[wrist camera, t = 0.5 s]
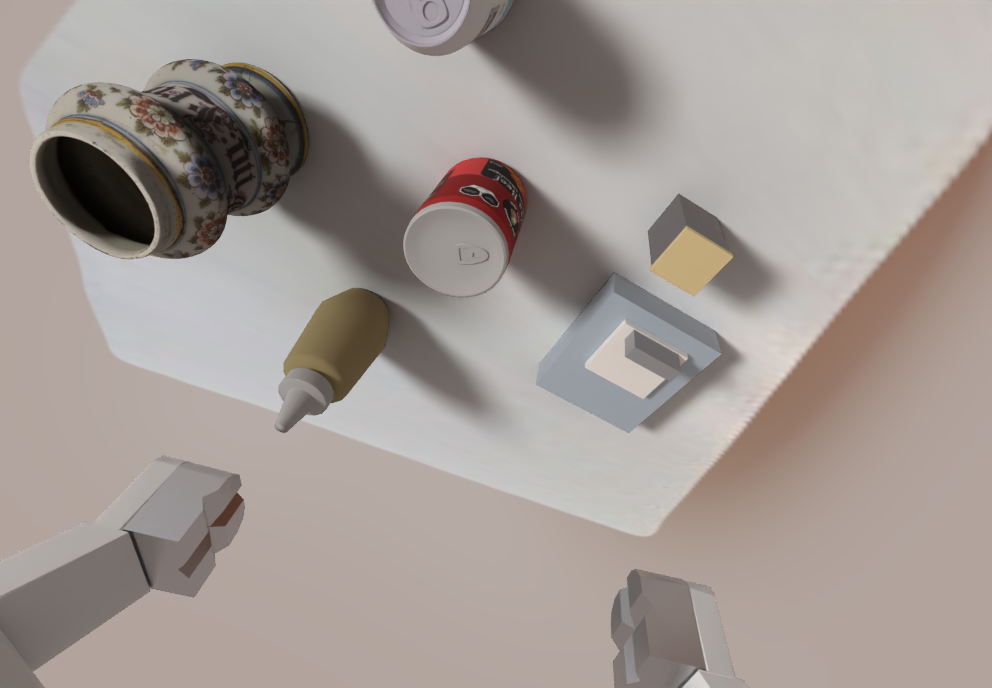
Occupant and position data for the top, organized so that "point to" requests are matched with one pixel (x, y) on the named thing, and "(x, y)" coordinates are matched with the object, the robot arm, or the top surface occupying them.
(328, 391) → the squeeze bottle
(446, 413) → the top surface
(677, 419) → the top surface
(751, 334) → the top surface
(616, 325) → the socket block
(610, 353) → the panel
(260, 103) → the apothecary jar
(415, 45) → the beverage can
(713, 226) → the plug
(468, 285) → the canned food
